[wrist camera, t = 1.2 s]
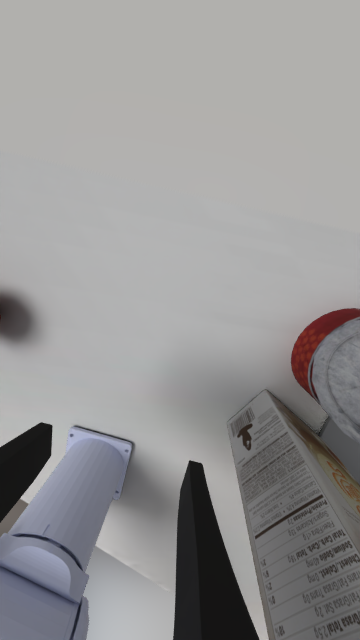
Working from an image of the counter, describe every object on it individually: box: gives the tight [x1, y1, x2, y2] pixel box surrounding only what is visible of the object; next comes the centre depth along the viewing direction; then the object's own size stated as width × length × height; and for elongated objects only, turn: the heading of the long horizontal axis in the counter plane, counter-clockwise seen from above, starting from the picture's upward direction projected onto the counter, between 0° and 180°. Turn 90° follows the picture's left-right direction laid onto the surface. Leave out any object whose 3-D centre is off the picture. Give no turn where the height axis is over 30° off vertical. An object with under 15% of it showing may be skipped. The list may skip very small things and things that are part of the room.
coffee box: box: [227, 390, 360, 640], centre depth 12 cm, size 9×6×16 cm
